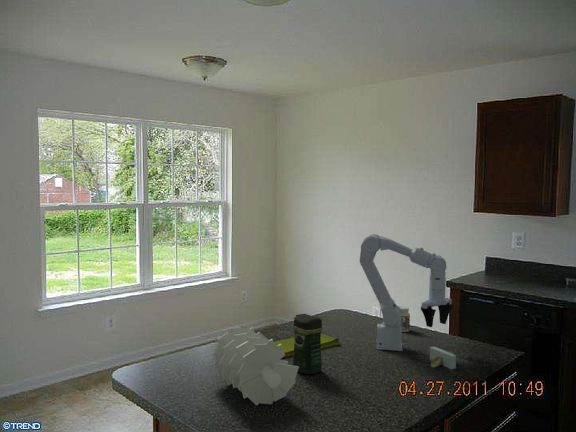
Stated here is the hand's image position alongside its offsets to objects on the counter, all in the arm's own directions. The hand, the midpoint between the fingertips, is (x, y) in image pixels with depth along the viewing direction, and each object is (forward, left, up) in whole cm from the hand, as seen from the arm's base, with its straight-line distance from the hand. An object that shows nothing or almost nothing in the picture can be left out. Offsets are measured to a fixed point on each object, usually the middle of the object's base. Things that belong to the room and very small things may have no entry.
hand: (436, 325), depth 179 cm
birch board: (+1, -12, -10) cm, 16 cm away
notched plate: (+1, -12, -10) cm, 16 cm away
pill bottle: (-11, +26, -11) cm, 30 cm away
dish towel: (-53, -7, -11) cm, 55 cm away
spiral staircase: (-57, -49, -11) cm, 76 cm away
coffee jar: (-44, -28, -11) cm, 53 cm away
